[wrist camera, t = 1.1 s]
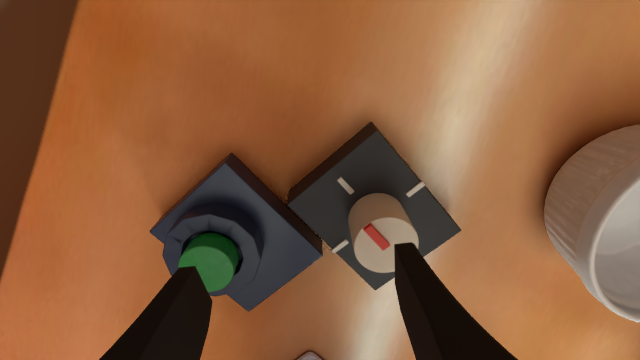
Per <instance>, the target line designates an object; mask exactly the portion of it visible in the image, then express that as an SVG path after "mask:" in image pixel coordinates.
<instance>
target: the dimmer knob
mask: <svg viewBox="0 0 640 360" xmlns="http://www.w3.org/2000/svg"><path fill="white" fill-rule="evenodd" d="M348 223H349V228H350V233H351V238H352V243H353V248H354V253H355V256H356V258H357V260H358V261H359V262H360V263H361V264H362V265H363V266H364V267H365V268H367V269H369V270H371V271H374V272H379V273H388V272H394V271H395V256H394V244H400V243H409V242H412V243H414V244H415V245H416V247H417V249H418V245H419V239H418V235H417V232H416V231H415V229H414V227H413V225H412V223H411V222H410V220H409V218H408V216H407V214H406V212H405V211H404V209H403V207H402V205H401V204H400V202H399V201H398V200H397V199H396V198H394V197H392V196H390V195H388V194H384V193H373V194H369V195H366V196H364V197H362V198H361V199H359V200H358V201H357V202H356V203H355V204H354V205H353V207H352V208H351V210H350V213H349V217H348Z"/></svg>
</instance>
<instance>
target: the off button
mask: <svg viewBox="0 0 640 360" xmlns="http://www.w3.org/2000/svg"><path fill="white" fill-rule="evenodd" d="M238 261H239V253H238V250H237V248H236V246H235V244H234V243H233V242H232V241H231V240H230V239H228V238H227V237H225V236H223V235H221V234H217V233H204V234H201V235H198V236H196V237H195V238H193V239H192V240H191V241H190V243H189V244H188V246H187V248H186V249H185V251H184V252H183V254H182V256H181V258H180V260H179V264H178V268H180V267H189V266H196V268H197V270H198V272H199V275H200V277H201V279H202V281H203V283H204V285H205V287H206V289H207V291H208V292H214V291H218V290H221V289H223V288H225V287H226V286H227V285H228V284H229V283H230V282H231V281H232V279H233V276H234V273H235V270H236V267H237V264H238Z"/></svg>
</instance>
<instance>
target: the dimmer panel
mask: <svg viewBox="0 0 640 360" xmlns="http://www.w3.org/2000/svg"><path fill="white" fill-rule="evenodd" d="M373 193H384V194H388V195H390V196H392V197H394V198H396V199H397V200H398V201H399V202H400V204H401V205H402V207H403V209H404V211H405V212H406V214H407V216H408V218H409V220H410V222H411V223H412V225H413V227H414V229H415V231H416V232H417V235H418V239H419V245H418V250H419V252H420V253H421V255H422V256H423V257H424V256H426V255H427V254H428V253H430V252H431V251H433V250H434V249H436V248H437V247H438V246H440V245H441V244H443V243H444V242H446V241H447V240H449V239H450V238H451V237H453V236H454V235H456V234H457V233H459V232H460V231H461V229H460V228H459V227H458V225H457V224H456V223H455V221H454V220H453V219H452V218H451V216H450V215H449V214H448V213H447V212H446V210H445V209H444V208H443V207H442V206H441V204H440V203H439V202H438V201H437V200H436V198H435V197H434V196H433V195H432V194H431V192H430V191H429V190H428V189H427V188H426V186H425V184H424V183H423V181H421V180H420V179H419V178H418V177H417V176H416V174H415V173H414V172H413V171H412V170H411V168H410V167H409V166H408V165H407V164H406V163H405V161H404V160H403V159H402V158H401V157H400V155H399V154H398V153H397V152H396V151H395V149H394V148H393V147H392V146H391V145H390V143H389V142H388V141H387V140H386V139H385V137H384V136H383V135H382V134H381V133H380V131H379V130H378V129H377V128H376V127H375V125H374V124H373V123H372V122H370V123H369V124H368V125H367V126H366V127H364V128H363V129H362V130H361V131H360V132H358V133H357V134H356V135H355V136H354V137H353V138H351V139H350V140H349V141H348V142H347V143H345V144H344V145H343V146H342V147H341V148H339V149H338V150H337V151H336V152H335V153H334V154H332V155H331V156H330V157H329V158H328V159H326V160H325V161H324V162H323V163H322V164H320V165H319V166H318V167H317V168H316V169H314V170H313V171H312V172H311V173H310V174H309V175H307V176H306V177H305V178H304V179H303V180H301V181H300V182H299V183H298V184H297V185H295V186H294V187H293V188H292V189H291V190H290V191H289V196H288V203H287V205H288V206H289V207H290V208H291V209H292V210H293V211H294V212H295V213H296V214H297V215H298V216H299V217H300V218H301V219H302V220H303V221H304V222H305V223H306V224H307V225H308V226H309V227H310V228H311V229H312V230H313V231H315V232H316V233H317V234H318V235H319V236H320V237H321V238H322V239H323V240H324V241H325V242H326V243H327V244H328V245H329V246H330V247H331V248H332V249H331V251H332V252H333V253H334V254H335V253H337V254H338V255H339V256H340V257H341V258H342V259H343V260H344V261H345V262H346V263H347V264H348V265H350V266H351V267H352V268H353V269H354V270H355V271H356V272H357V273H358V274H359V275H360V276H361V277H362V278H363V279H364V280H365V281H366V282H367V283H368V284H369V285H370V286H371V287H372V288H373V289H374V290H377V289H378V288H380V287H381V286H382V285H384V284H385V283H387V282H388V281H390V280H391V279H393V278H394V277H395V271H394V272H388V273H379V272H374V271H371V270H369V269H367V268H365V267H364V266H363V265H362V264H361V263H360V262H359V261H358V260H357V258H356V256H355V253H354V248H353V243H352V238H351V233H350V228H349V223H348V217H349V213H350V210H351V208H352V207H353V205H354V204H355V203H356V202H357V201H358V200H359V199H361V198H362V197H364V196H366V195H369V194H373Z"/></svg>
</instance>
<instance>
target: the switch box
mask: <svg viewBox="0 0 640 360" xmlns="http://www.w3.org/2000/svg"><path fill="white" fill-rule="evenodd" d="M150 233H151V234H152V235H154V236H155V237H156V238H157V239H159V240H160V241H161V242H162V243H164V249H163V258H164V260H165V263H166V265H167V267H168V269H169V272H170V274H171V276H173V274H174V273H175V272H176V271H177V270H178V264H179V260H180V258H181V256H182V254H183V252H184V251H185V249H186V248H187V246H188V244H189V243H190V241H191V240H192V239H193V238H195V237H196V236H198V235H201V234H204V233H217V234H221V235H223V236H225V237H227V238H228V239H230V240H231V241H232V242H233V243H234V244H235V246H236V248H237V250H238V253H239V261H238V264H237V267H236V270H235V273H234V276H233V279H232V281H231V282H230V283H229V284H228V285H227V286H226V287H225V288H223V289H221V290H218V291H214V292H208V293H209V295H211V296H220V295H226V294H227V295H228V296H230V297H231V298H232V299H233V300H235V301H236V302H237V303H238V304H239V305H241V306H242V307H243V308H244V309H246V310H247V311H248V312H249V311H250V310H252V309H253V308H254V307H256V306H257V305H258V304H260V303H261V302H262V301H264V300H265V299H266V298H268V297H269V296H270V295H271V294H273V293H274V292H275V291H277V290H278V289H279V288H281V287H282V286H283V285H285V284H286V283H287V282H289V281H290V280H291V279H293V278H294V277H295V276H296V275H298V274H299V273H300V272H302V271H303V270H304V269H306V268H307V267H308V266H310V265H311V264H312V263H314V262H315V261H316V260H318V259H319V258H320V257H322V255H323V251H322V240H321V239H320V238H319V237H318V236H317V235H316V234H315V233H314V232H313V231H312V230H311V229H310V228H309V227H308V226H307V225H306V224H305V223H304V222H302V221H301V220H300V219H299V218H298V217H297V216H296V215H295V214H294V213H293V212H292V211H291V210H290V209H289V208H288V207H287V206H286V205H285V204H284V203H283V202H282V201H281V200H280V199H279V198H278V197H277V196H276V195H275V194H274V193H273V192H272V191H271V190H269V189H268V188H267V187H266V186H265V185H264V184H263V183H262V182H261V181H260V180H259V179H258V178H257V177H256V176H255V175H254V174H253V173H252V172H251V171H250V170H249V169H248V168H247V167H246V166H245V165H244V164H243V163H242V162H241V161H240V160H239V159H238V158H236V157H235V156H234V155H233V154H232V153H230V154H229V155H228V156H227V157H226V158H225V159H224V160H223V161H222V162H221V163H220V164H219V165H217V166H216V167H215V168H214V169H213V170H212V171H211V172H210V173H209V174H208V175H207V176H206V177H205V178H203V179H202V180H201V181H200V182H199V183H198V184H197V185H196V186H195V187H194V188H193V189H192V190H190V191H189V192H188V193H187V194H186V195H185V196H184V197H183V198H182V199H181V200H180V201H179V202H177V203H176V204H175V205H174V206H173V207H172V208H171V209H170V210H169V211H168V212H167V213H166V214H165V215H163V216H162V217H161V218H160V220H159V221H158V222H157V223H156V224H155V225H154V227H153V228H152V229H151V230H150Z"/></svg>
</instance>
